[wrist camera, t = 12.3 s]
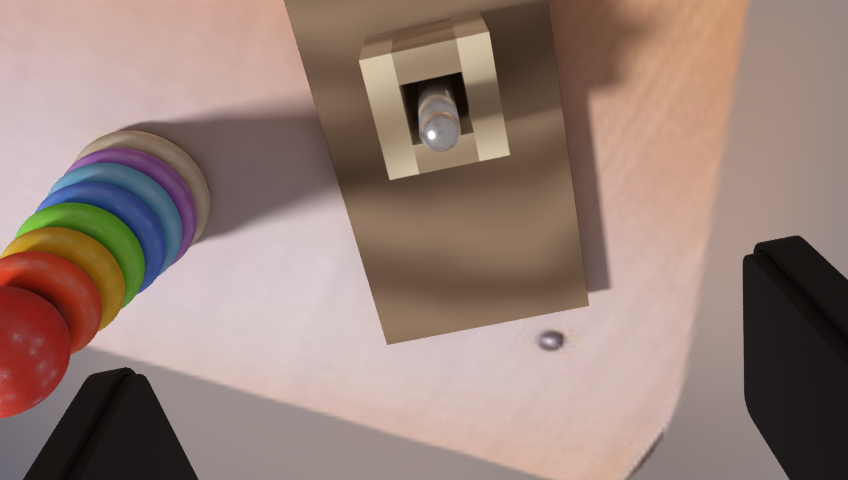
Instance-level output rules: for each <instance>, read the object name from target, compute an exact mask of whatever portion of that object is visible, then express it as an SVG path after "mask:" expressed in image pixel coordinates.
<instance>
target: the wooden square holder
mask: <svg viewBox="0 0 848 480" xmlns="http://www.w3.org/2000/svg"><path fill="white" fill-rule="evenodd" d="M359 63H360V67H361V71H362V75H363V79H364V82H365V86H366V90H367V94H368V98H369V102H370V106H371V110H372V114H373V117H374V121H375V125H376V129H377V133H378V137H379V141H380V145H381V149H382V152H383V156H384V160H385V164H386V168H387V172H388V176H389V180H393V179H397V178H402V177H407V176H412V175H417V174H421V173H426V172H431V171H436V170H441V169H445V168H450V167H455V166H460V165H465V164H470V163H474V162H479V161H484V160H489V159H494V158H498V157H503V156H508V155H510V152H509V146H508V140H507V135H506V129H505V123H504V117H503V111H502V105H501V99H500V93H499V87H498V81H497V75H496V70H495V64H494V58H493V52H492V46H491V40H490V34H489V30H488V28H487V26H486V24H485V22H484V20H483V18H482V16H481V14H480V12H476V13H472V14H468V15H463V16H459V17H454V18H450V19H445V20H441V21H436V22H432V23H428V24H423V25H419V26H414V27H410V28H405V29H401V30H396V31H392V32H388V33H383V34H379V35H374V36H370V37H365V39H364V43H363V47H362V51H361V54H360V58H359ZM458 72H461V76H462V82H463V87H464V92H465V97H466V103H461V104H456V107H457V112H458V117H459V122H460V127H461V134H460V138H459V140H458V142H457V143H456V145H455V146H454V147H452V148H451V149H449V150H447V151H443V152H436V151H433V150H431V149H429V148H427V147H426V146H425V145H424V144H423V142H422V141H421V138H420V134H419V115H418V113H415V114H412V111H411V106H410V102H409V98H408V93H407V89H406V85H405V84H407V83H412V82H417V81H421V80H426V79H430V78H435V77H440V76H444V75H449V74H453V73H458Z"/></svg>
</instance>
